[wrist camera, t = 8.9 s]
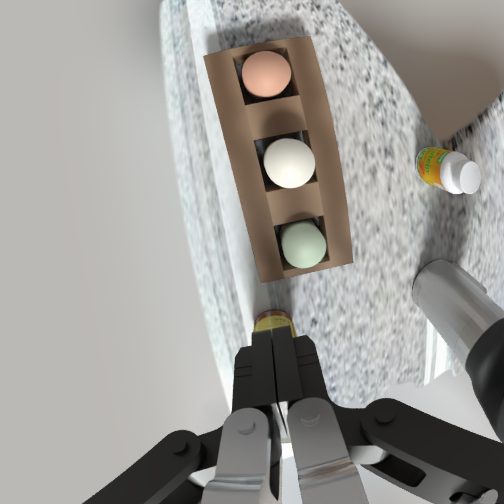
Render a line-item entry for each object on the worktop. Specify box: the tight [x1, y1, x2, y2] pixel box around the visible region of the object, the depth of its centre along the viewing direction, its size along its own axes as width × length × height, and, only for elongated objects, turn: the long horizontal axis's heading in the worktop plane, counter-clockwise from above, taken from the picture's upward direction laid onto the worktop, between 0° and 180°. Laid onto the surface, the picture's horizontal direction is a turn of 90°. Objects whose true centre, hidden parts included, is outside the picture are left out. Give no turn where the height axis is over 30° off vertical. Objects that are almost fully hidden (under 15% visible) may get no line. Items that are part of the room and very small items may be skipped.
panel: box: [203, 36, 353, 283], centre depth 32 cm, size 12×28×4 cm, turn 13°
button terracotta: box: [242, 51, 291, 100], centre depth 27 cm, size 5×5×5 cm
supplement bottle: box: [416, 147, 482, 194], centre depth 29 cm, size 5×5×10 cm
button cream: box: [263, 138, 315, 188], centre depth 29 cm, size 5×5×5 cm
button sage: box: [280, 218, 326, 268], centre depth 35 cm, size 5×5×5 cm
